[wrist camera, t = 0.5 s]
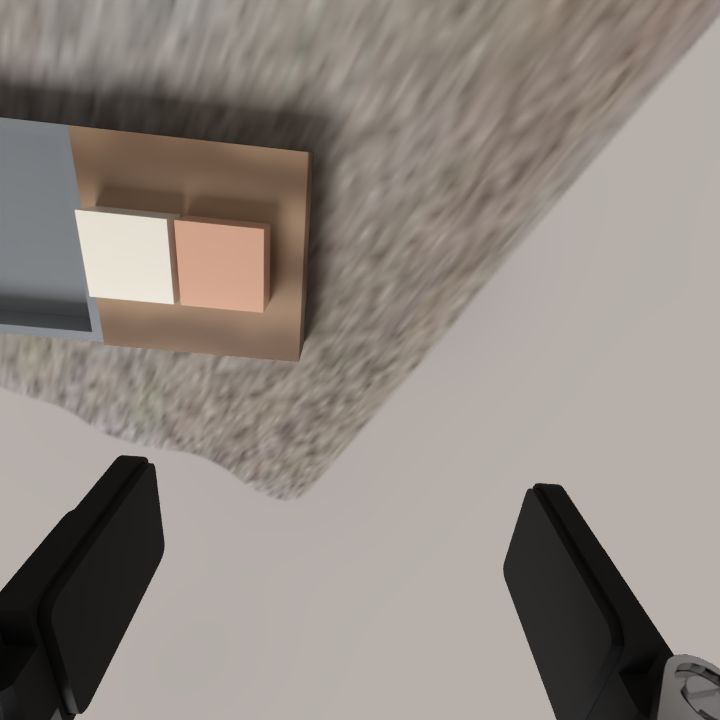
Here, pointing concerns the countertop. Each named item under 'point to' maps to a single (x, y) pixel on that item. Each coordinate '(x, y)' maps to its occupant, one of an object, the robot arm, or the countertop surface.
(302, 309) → the walnut board
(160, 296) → the cream tile
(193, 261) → the terracotta tile
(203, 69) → the countertop surface
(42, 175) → the tray
